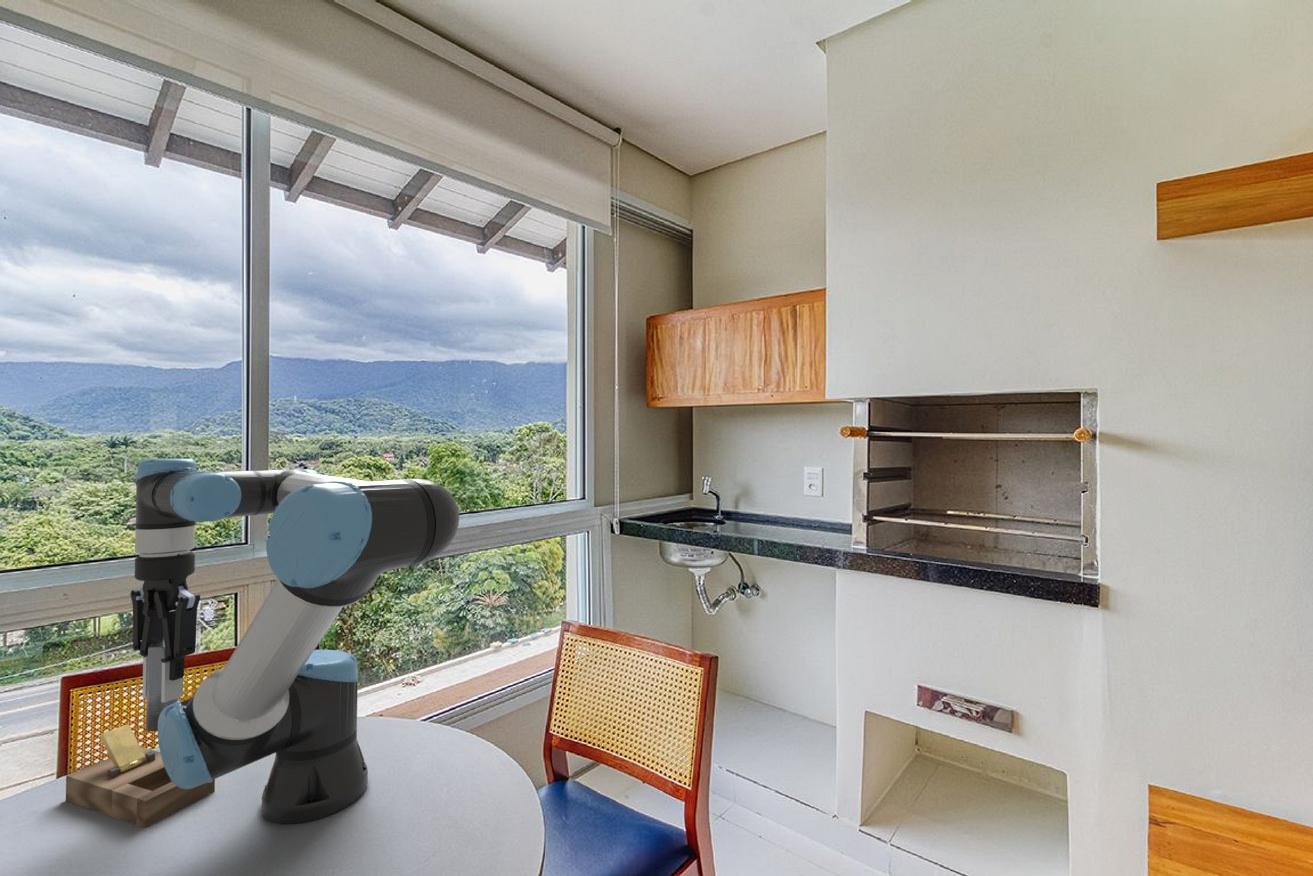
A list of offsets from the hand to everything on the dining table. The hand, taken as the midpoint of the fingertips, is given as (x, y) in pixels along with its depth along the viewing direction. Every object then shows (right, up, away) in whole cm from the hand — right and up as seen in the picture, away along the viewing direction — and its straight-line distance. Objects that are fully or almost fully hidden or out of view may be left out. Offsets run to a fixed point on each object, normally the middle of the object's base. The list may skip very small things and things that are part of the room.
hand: (162, 696), depth 94 cm
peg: (0, -5, 0) cm, 5 cm away
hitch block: (-5, -17, +1) cm, 18 cm away
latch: (-9, -10, +3) cm, 14 cm away
